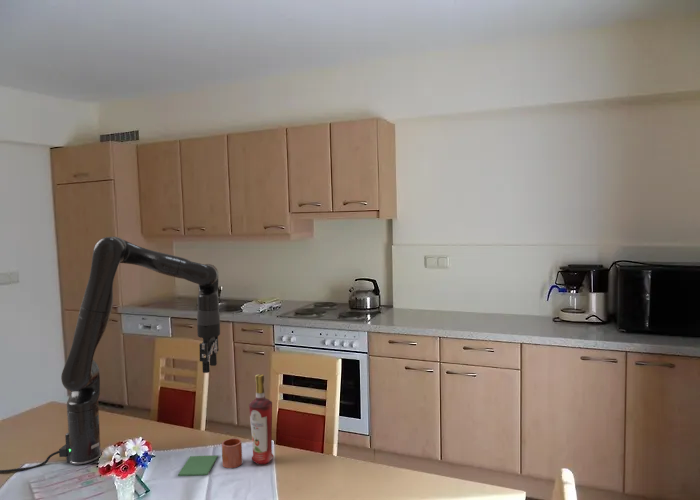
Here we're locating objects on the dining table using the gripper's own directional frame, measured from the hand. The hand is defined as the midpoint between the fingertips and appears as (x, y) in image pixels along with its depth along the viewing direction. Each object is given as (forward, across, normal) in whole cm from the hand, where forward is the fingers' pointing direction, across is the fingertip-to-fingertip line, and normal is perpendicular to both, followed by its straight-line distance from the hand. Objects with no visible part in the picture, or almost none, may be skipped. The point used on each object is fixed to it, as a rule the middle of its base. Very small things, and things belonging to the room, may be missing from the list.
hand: (209, 368), depth 171 cm
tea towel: (+27, +15, 0) cm, 31 cm away
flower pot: (+27, +13, +10) cm, 32 cm away
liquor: (+27, +12, +20) cm, 36 cm away
